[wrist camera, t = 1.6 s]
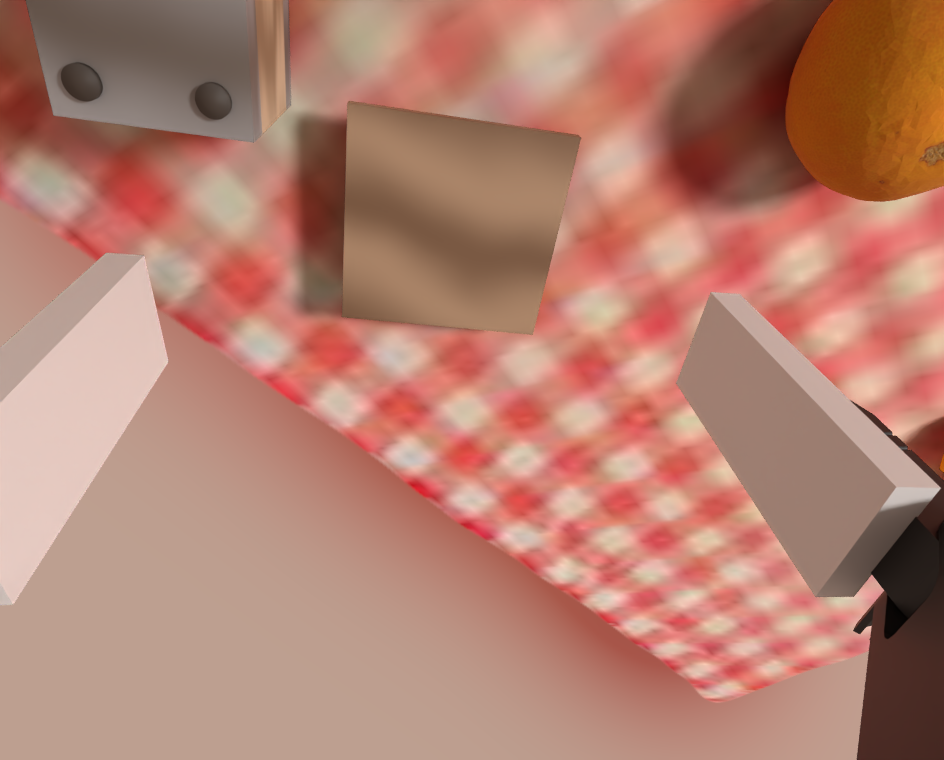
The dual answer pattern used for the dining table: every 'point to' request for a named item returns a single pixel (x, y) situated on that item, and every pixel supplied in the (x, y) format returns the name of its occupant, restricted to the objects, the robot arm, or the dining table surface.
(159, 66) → the housing
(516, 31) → the dining table surface
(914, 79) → the fruit
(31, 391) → the robot arm
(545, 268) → the stand
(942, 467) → the pipe clamp
